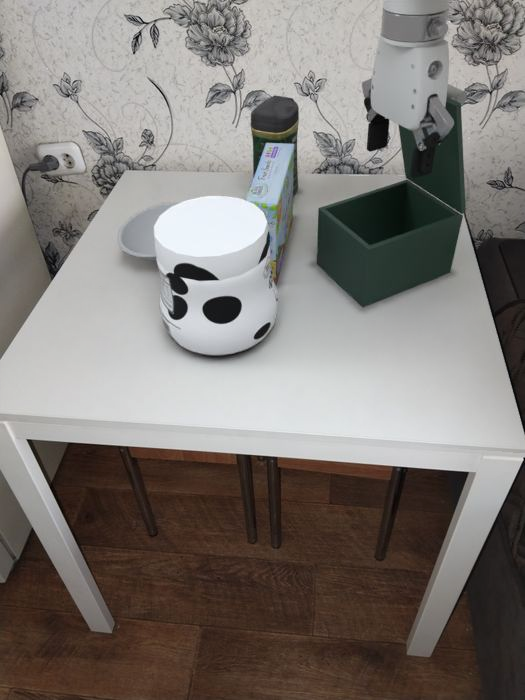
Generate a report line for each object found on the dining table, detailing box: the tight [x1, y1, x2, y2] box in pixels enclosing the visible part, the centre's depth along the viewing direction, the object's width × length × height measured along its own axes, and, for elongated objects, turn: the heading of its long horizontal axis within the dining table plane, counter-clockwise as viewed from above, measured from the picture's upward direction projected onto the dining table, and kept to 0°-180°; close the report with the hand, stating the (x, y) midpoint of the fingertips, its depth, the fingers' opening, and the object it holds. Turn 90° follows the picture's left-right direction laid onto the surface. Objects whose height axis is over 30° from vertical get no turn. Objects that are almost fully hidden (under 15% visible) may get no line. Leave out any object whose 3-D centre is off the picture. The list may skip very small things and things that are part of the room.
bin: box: [316, 179, 464, 308], centre depth 96 cm, size 18×14×11 cm
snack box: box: [245, 143, 295, 286], centre depth 100 cm, size 21×6×15 cm, turn 171°
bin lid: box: [397, 83, 468, 215], centre depth 88 cm, size 18×14×5 cm
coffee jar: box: [250, 95, 300, 197], centre depth 112 cm, size 10×8×19 cm
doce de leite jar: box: [154, 195, 279, 357], centre depth 84 cm, size 17×17×18 cm
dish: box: [116, 201, 182, 261], centre depth 104 cm, size 18×14×5 cm
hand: (397, 161), depth 82 cm, fingers open, 9 cm apart
